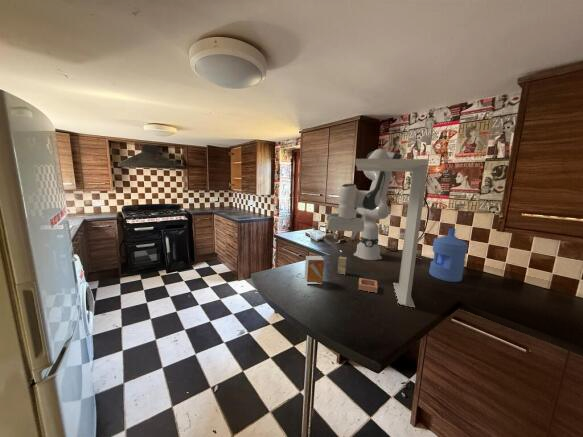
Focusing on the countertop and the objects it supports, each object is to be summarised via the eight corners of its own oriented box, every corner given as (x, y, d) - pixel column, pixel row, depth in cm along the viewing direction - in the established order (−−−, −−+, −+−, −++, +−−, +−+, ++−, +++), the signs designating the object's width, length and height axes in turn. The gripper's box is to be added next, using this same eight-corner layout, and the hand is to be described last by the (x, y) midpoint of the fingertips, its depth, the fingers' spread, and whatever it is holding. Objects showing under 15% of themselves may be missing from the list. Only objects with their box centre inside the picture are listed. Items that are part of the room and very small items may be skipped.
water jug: (451, 272, 136) (458, 226, 132) (468, 283, 121) (477, 232, 117) (423, 270, 138) (430, 225, 134) (437, 281, 122) (445, 230, 118)
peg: (338, 271, 130) (339, 256, 129) (345, 272, 129) (346, 257, 128) (337, 274, 127) (338, 258, 125) (344, 275, 125) (345, 259, 124)
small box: (306, 285, 111) (308, 259, 109) (304, 279, 117) (305, 255, 115) (322, 285, 112) (324, 259, 110) (319, 279, 118) (321, 255, 116)
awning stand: (348, 277, 123) (357, 163, 114) (406, 286, 114) (421, 164, 105) (344, 295, 102) (355, 158, 93) (414, 308, 93) (434, 159, 84)
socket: (358, 283, 116) (359, 277, 115) (376, 286, 113) (376, 280, 113) (358, 290, 108) (358, 284, 107) (376, 293, 105) (377, 287, 105)
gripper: (328, 213, 119) (326, 239, 121) (366, 215, 120) (364, 240, 122) (326, 212, 125) (324, 236, 127) (362, 213, 126) (360, 238, 128)
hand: (344, 238), depth 125 cm, fingers open, 8 cm apart
